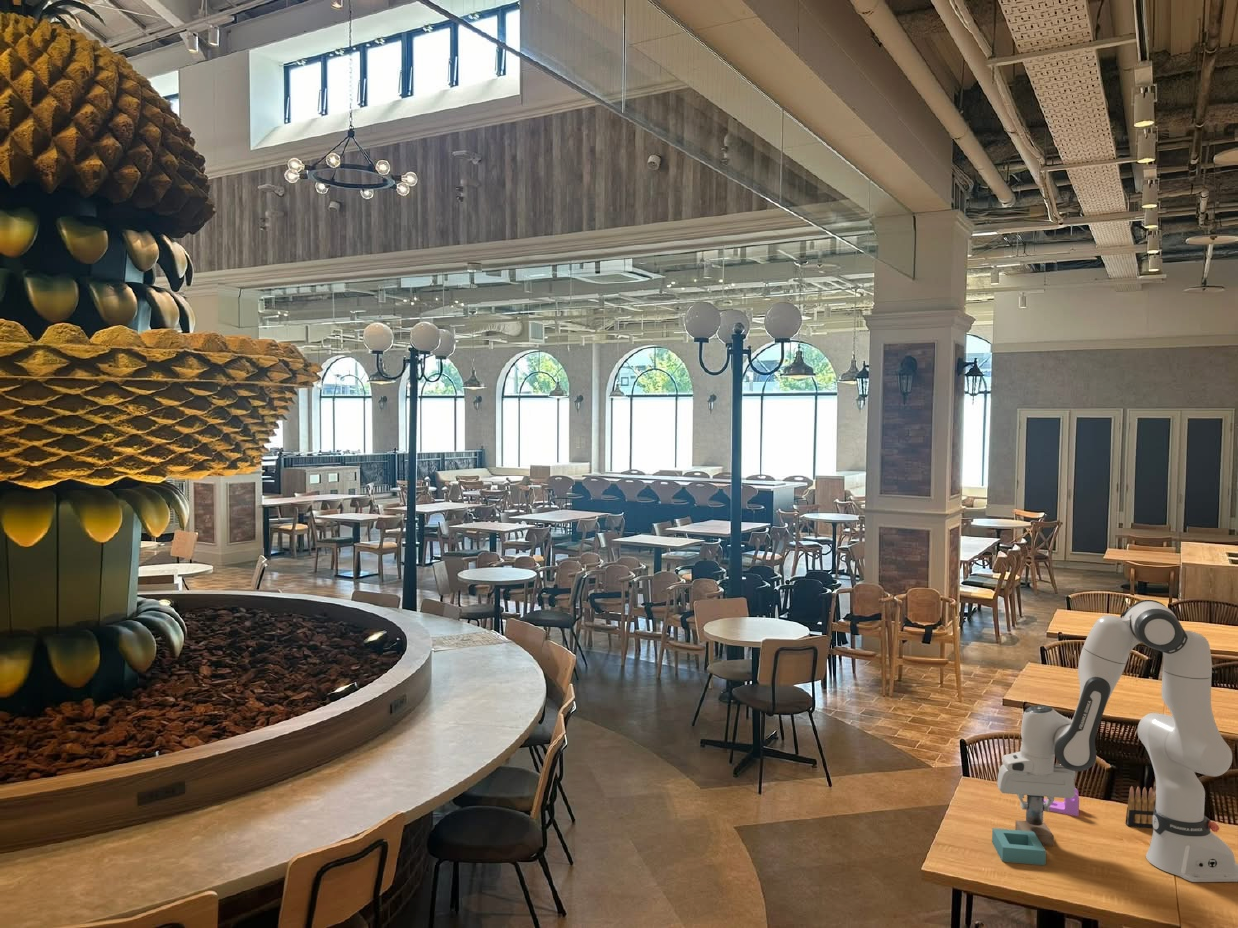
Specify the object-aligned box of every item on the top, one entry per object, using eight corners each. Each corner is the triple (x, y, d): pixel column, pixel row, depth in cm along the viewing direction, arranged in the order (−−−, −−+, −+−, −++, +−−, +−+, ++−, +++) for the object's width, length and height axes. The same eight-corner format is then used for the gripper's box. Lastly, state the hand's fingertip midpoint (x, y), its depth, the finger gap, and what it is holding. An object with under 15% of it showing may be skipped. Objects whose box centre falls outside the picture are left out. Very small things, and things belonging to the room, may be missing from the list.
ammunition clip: (1164, 826, 260) (1165, 786, 259) (1166, 829, 258) (1169, 789, 258) (1125, 823, 262) (1127, 784, 261) (1128, 826, 260) (1129, 787, 259)
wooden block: (1044, 832, 256) (1044, 822, 256) (1053, 845, 248) (1053, 835, 248) (1015, 830, 257) (1015, 820, 257) (1023, 843, 249) (1023, 833, 249)
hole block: (1033, 845, 248) (1033, 831, 248) (1045, 865, 237) (1045, 850, 237) (991, 841, 250) (992, 828, 250) (1002, 861, 239) (1002, 847, 239)
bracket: (1077, 809, 271) (1078, 787, 271) (1078, 816, 266) (1079, 794, 266) (1031, 800, 277) (1032, 779, 276) (1031, 807, 272) (1031, 786, 271)
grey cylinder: (1040, 818, 254) (1041, 791, 253) (1044, 825, 250) (1046, 798, 249) (1023, 817, 255) (1025, 790, 254) (1028, 824, 250) (1029, 797, 250)
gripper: (1072, 760, 252) (1069, 807, 253) (996, 755, 256) (994, 801, 257) (1079, 769, 246) (1077, 817, 247) (1002, 763, 250) (1000, 811, 250)
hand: (1034, 809), depth 252 cm, fingers closed on grey cylinder, 4 cm apart
